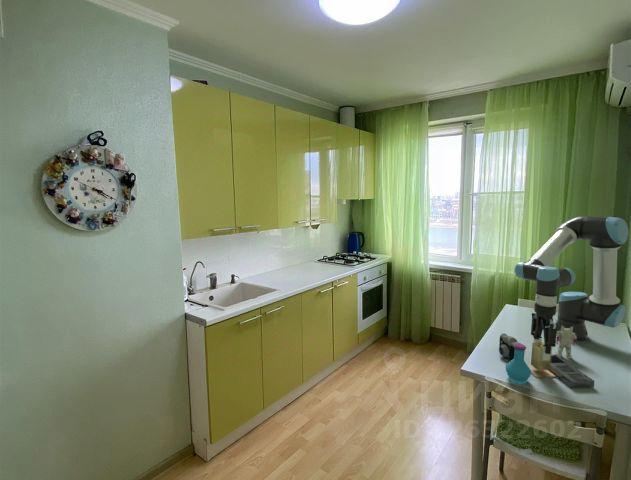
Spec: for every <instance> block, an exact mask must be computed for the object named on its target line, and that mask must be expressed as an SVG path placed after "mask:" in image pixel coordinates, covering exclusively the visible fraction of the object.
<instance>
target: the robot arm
mask: <svg viewBox="0 0 631 480" xmlns="http://www.w3.org/2000/svg"><path fill="white" fill-rule="evenodd" d="M628 236H629V227H628V223H627V222H626V221H625V220H624V219H623V218H621V217H613V216H596V215H595V216H592V215H591V216H590V215H579V216H577V217H573V218H571V219H569V220H566V221H565V222H563V223H562V224H561V225H559V226H558V227H557V228H556V229H555V230H554V234H553V235H552V236H551V237H550V238H549V239H548V241H546V243H545V244H544V245H543V246H541V247H540V248H539V249H538V251H537V252H536V253H535V254H534V255H533V256H532V257H531V258H530V259H528V260H527V261H526V262H525V261H523V262H522V261H519V262H517V264H515V267H514V275H515V277H517V278H519V279H521V280H522V279H523V280H527V281H531V282H536V284H535V287H536V288H535V299H534V302H535V303H534V306H533V307H534V309H533V310H534V312H532V313H531V325H530V326H531V327H530V328H531V329H530V334H531V336H532V338H533V343H536V342H544V344H545V345H543V351H542V360H543V361H547V360H550V353H551V347H552V348H554V347H556V346H557V344H556V340H557V339H556V338H557V336H556V333H557V331H562V330H561V326H563V327H564V328H566V329H568V328H571V327H573V331H572V332H573V333H575V334H576V337H577V339H576V340H577V341H576V342H581V341H583V342H584V341H586V340H588V336H589V334H588V330H587V326H586V321H587V322H590V323H594V324H597V325H599V326H600V325H601V326H604V327H609V328H611V329H613V328H617V327H619V325H621V324H622V321H623V320H624V318H625V315H626V313H627V312H626V311H627V309H626V305H623V304H621V299H620V298H619V297H618V296H617V270H618V250H619V249H620V248H621V247H622V245H623V244H625V243H626V242H627V240H628ZM579 240H580V241H581V240H583V241H589V247H590V248H592V249H593V253H592V254H593V259H592V260H593V265H592V266H593V267H592V272H593V274H592V294H591V295H589V296H588V293H585V292H581V291H565V292H561V293H560V294H559V298H558V292H559V288H563V287H568V286H570V285H571V284H573V283H574V282H576V279H577V277H576V274H575V272H574V270H572V269H571V268H569V267H560V268H558V267H554V266H550V265H551V264H552V263H553V262H554V261H555V259H557V257H559V256H560V255H561V254H562V252H564V251H565V249H566V248H567V247H568V246H569V245H572V244H573V243H575V242H576V241H579ZM557 306H558V310H557ZM556 314H557V319H556V320H555V322H554V318H553V317H554V316H555V315H556ZM542 335H543V337H542Z"/></svg>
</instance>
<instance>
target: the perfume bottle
mask: <svg viewBox="0 0 631 480" xmlns="http://www.w3.org/2000/svg"><path fill="white" fill-rule="evenodd" d="M519 343H520V342H519ZM519 343H516V344H514V345H513V346H514V349H515V351H514V359H513V360H510V361H509V362H508V363H507V364H505V371H506V373H507V374H506V375H507V376H508V377H507V378H508V380H509V381H510V382H512V383H514V384H518V385H519V384H520V385H525V384H527V383H528V382H527V381H528V380H529V378H530V376H532V374H531V370H530V368H529V367H530V366H529V365H528V363H526V361H525V352H526V349H527V347H526V345H525V344H523V343H521V344H519Z"/></svg>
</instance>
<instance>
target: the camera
mask: <svg viewBox="0 0 631 480" xmlns="http://www.w3.org/2000/svg"><path fill="white" fill-rule="evenodd" d="M516 343H519V344H522V343H521V342H519V341H518V340H517V338H515V337H513V336H511V335H508V334H507V333H505V332H504V333H501V334H500V335H499V344H498V345H499V347H498V352H499V354H500V355H501V356H502V357H503V358H507V359H509V360H510V361H511V360H513V359H514V351H515V349H514V346H513V345H514V344H516Z"/></svg>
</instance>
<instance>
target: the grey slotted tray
mask: <svg viewBox="0 0 631 480" xmlns="http://www.w3.org/2000/svg"><path fill="white" fill-rule="evenodd" d="M549 371H550V372H551V373H552V374H554V375H555V376H556V377H555V378H557V379H558V380H559V381H561V382H562V383H563V384H565V386H567V387H568V388H570V389H594V388H595V380H594V379H592V378H591V377H590V376H588V375H586V374H585V373H584V372H582V371H581V370H579V369H578V368H576V367H575V366H574V365H572V364H571V363H570V362H569V361H567V360H565V359H563V358H562V356H561V357H559V356H558V355H556V353H554V354H551V366H550V370H549Z"/></svg>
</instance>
